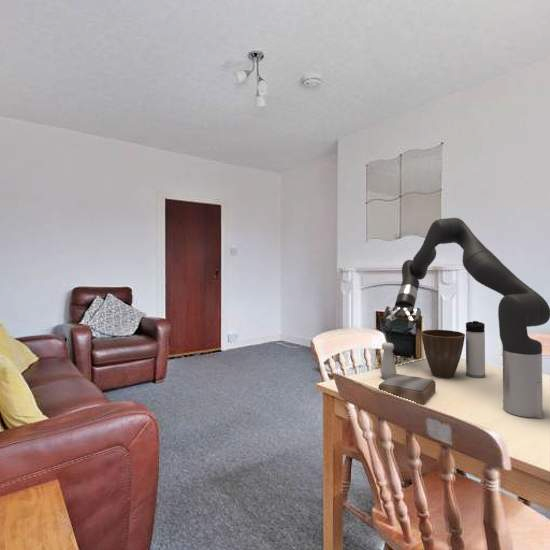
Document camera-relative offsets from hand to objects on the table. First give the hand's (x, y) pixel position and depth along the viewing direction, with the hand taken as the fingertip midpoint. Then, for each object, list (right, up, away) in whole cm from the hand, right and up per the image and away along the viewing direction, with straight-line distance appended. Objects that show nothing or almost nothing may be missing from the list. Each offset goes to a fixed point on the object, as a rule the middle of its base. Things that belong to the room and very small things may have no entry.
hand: (397, 329), depth 146 cm
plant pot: (+15, -17, -7) cm, 23 cm away
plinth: (-6, -17, -26) cm, 31 cm away
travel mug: (+26, -16, -8) cm, 32 cm away
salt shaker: (-7, -17, -9) cm, 20 cm away
